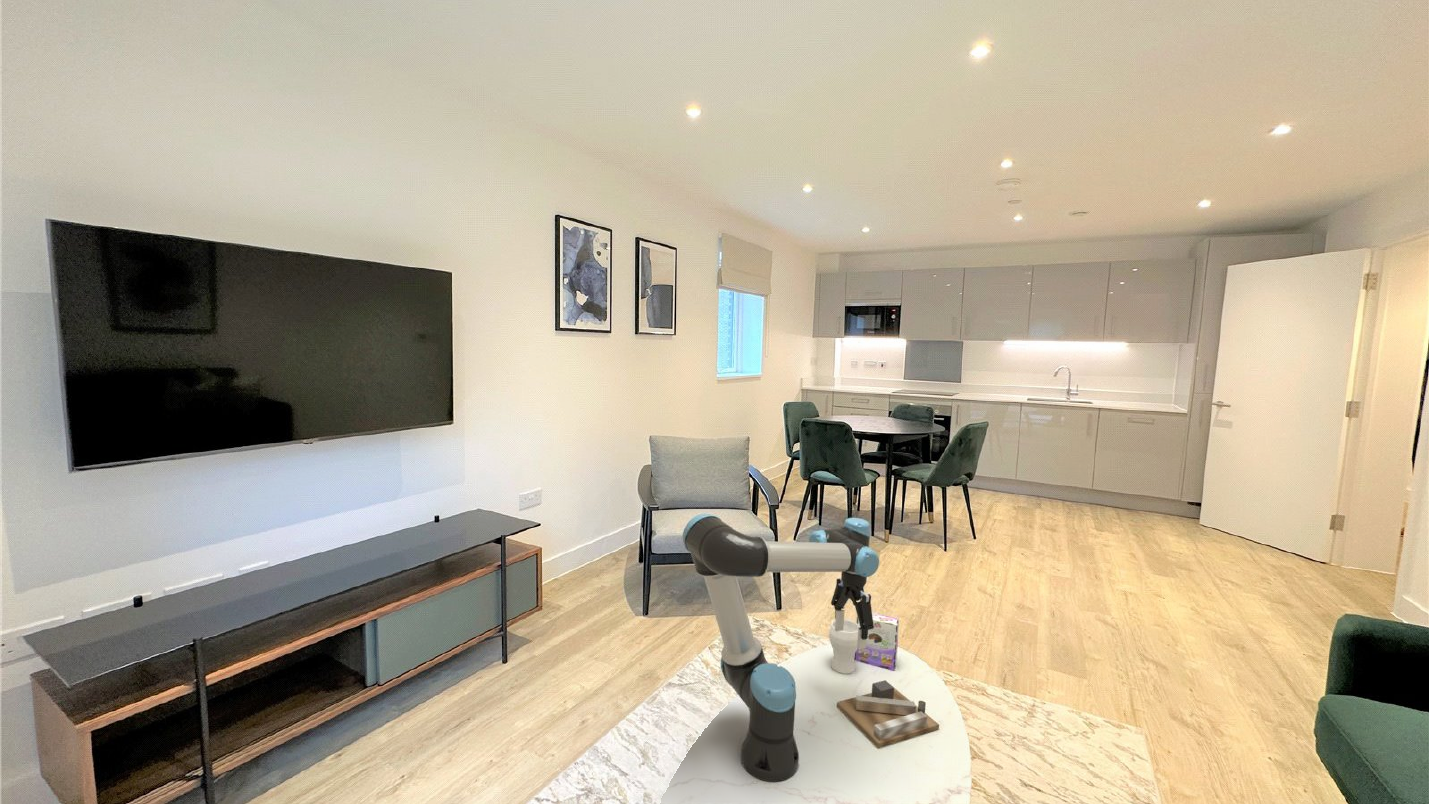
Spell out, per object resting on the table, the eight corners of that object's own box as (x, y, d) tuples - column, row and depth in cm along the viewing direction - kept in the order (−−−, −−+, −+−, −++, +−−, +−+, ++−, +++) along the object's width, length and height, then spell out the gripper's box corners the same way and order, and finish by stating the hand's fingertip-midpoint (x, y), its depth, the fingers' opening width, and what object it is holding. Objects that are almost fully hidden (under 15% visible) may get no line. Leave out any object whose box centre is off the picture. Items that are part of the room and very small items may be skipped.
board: (878, 748, 151) (879, 729, 151) (836, 706, 168) (837, 689, 168) (938, 729, 160) (940, 711, 159) (893, 691, 177) (894, 675, 177)
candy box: (896, 662, 194) (899, 618, 193) (894, 671, 189) (897, 625, 187) (856, 652, 200) (859, 608, 198) (853, 660, 194) (856, 615, 193)
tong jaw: (856, 709, 164) (856, 700, 164) (855, 704, 167) (855, 695, 167) (915, 716, 163) (915, 706, 162) (913, 710, 165) (913, 701, 165)
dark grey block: (880, 705, 167) (881, 691, 167) (871, 697, 171) (872, 683, 171) (893, 701, 169) (894, 687, 169) (884, 693, 173) (885, 680, 173)
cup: (827, 674, 186) (830, 631, 184) (826, 657, 196) (829, 616, 195) (860, 678, 184) (863, 635, 182) (857, 660, 194) (860, 620, 193)
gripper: (890, 583, 159) (884, 656, 161) (841, 554, 180) (837, 619, 182) (869, 586, 156) (864, 660, 158) (822, 557, 177) (818, 623, 179)
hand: (849, 639), depth 170 cm, fingers open, 10 cm apart
